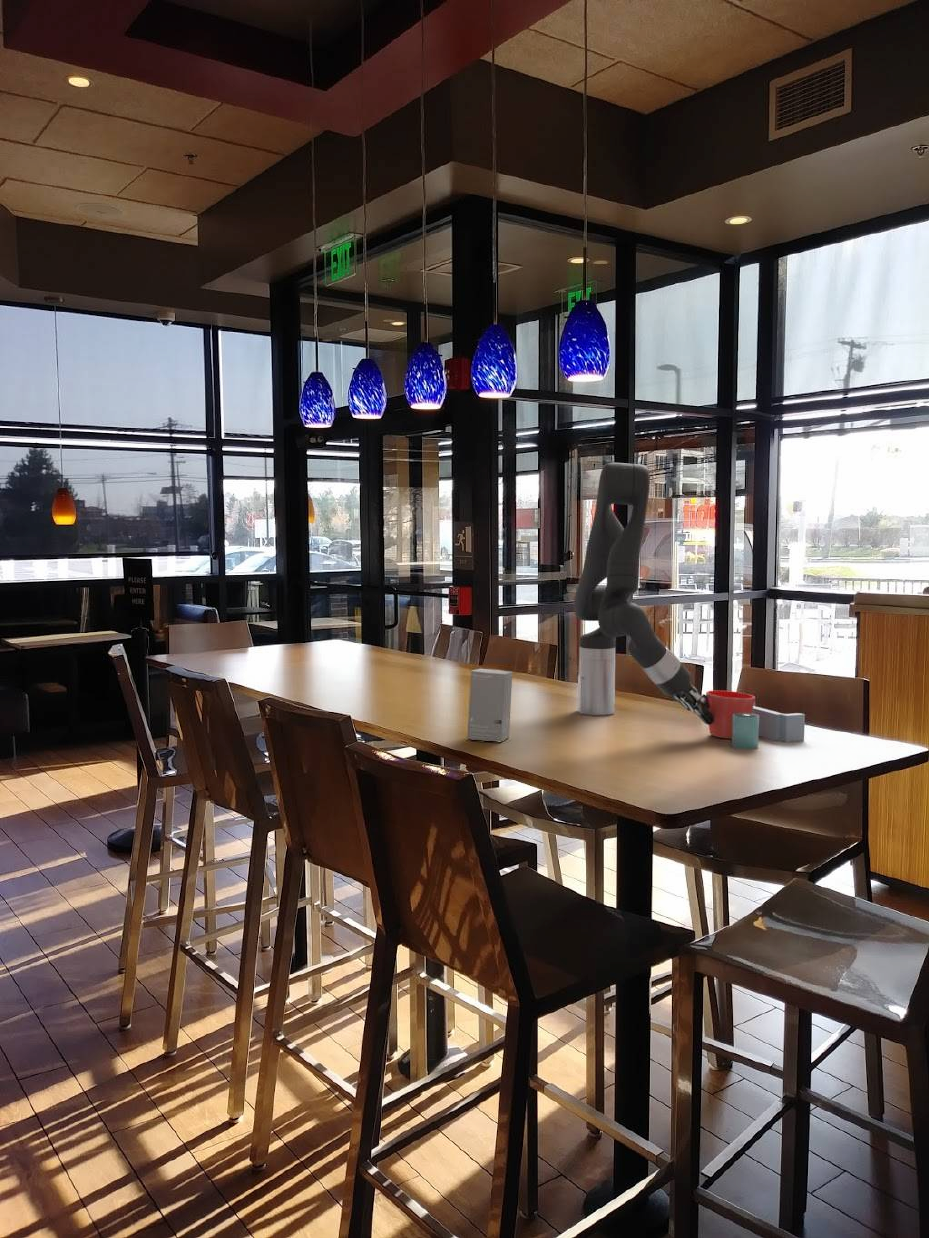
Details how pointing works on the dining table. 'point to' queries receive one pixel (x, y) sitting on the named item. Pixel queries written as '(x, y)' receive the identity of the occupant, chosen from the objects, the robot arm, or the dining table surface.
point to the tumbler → (745, 730)
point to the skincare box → (489, 705)
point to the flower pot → (727, 710)
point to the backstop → (780, 725)
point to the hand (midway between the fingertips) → (710, 721)
